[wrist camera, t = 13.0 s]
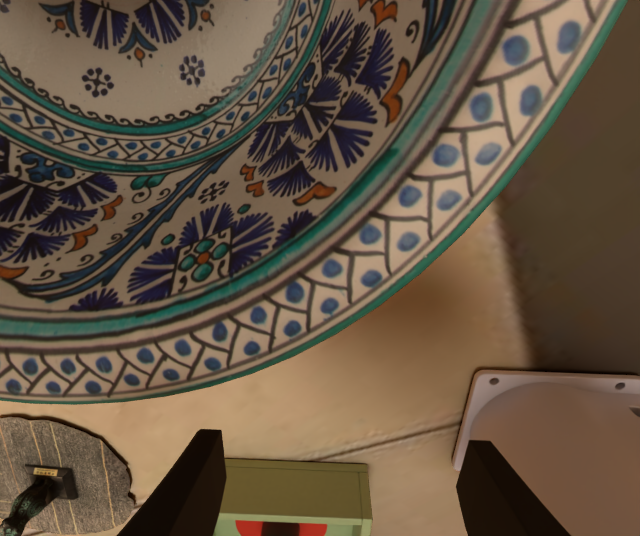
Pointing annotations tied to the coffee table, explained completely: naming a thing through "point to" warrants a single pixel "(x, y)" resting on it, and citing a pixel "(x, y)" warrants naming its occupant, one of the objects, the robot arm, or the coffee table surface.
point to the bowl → (249, 171)
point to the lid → (279, 528)
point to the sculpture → (59, 480)
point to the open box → (296, 495)
